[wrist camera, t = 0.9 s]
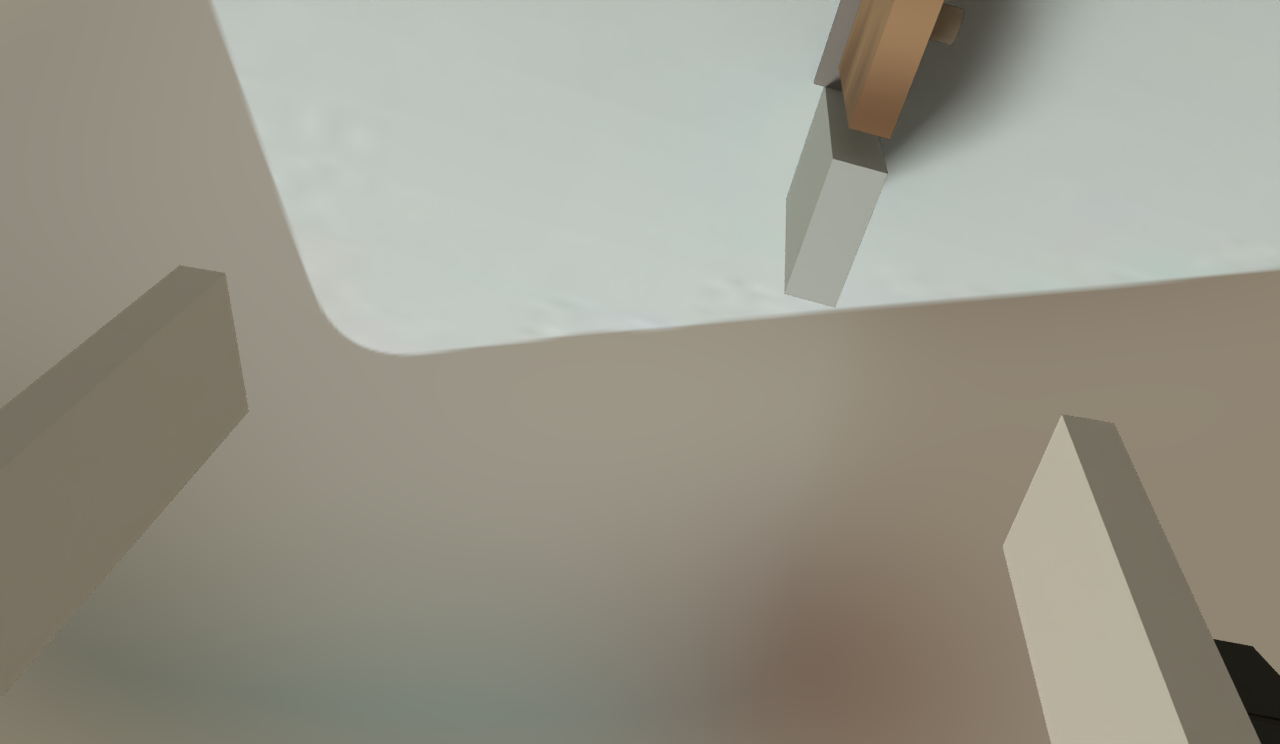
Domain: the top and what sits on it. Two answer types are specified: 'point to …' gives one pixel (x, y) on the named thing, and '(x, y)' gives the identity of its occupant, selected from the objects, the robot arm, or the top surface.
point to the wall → (831, 184)
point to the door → (889, 57)
